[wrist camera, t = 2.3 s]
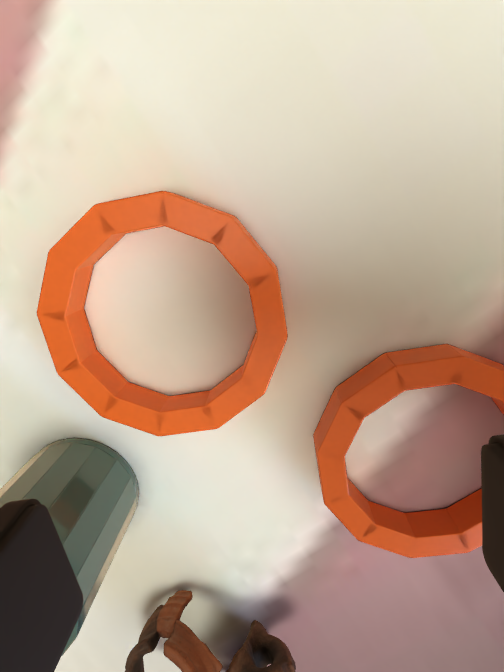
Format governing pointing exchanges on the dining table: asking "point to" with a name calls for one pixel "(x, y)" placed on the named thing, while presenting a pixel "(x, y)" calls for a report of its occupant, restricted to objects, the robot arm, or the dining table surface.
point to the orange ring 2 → (364, 398)
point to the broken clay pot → (194, 654)
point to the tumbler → (81, 505)
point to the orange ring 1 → (97, 373)
